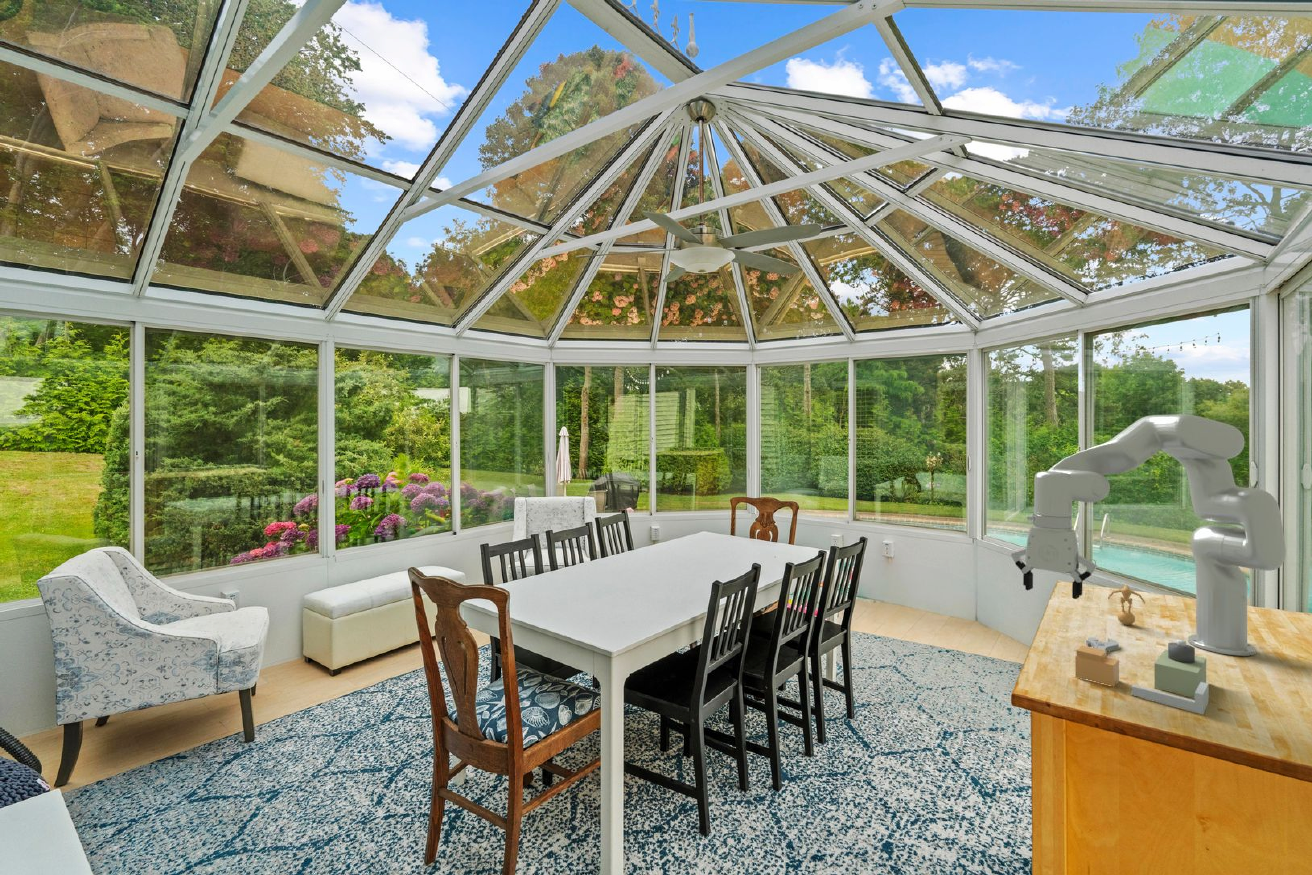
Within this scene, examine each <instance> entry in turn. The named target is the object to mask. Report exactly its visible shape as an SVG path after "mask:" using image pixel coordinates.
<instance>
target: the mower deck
mask: <svg viewBox="0 0 1312 875" xmlns="http://www.w3.org/2000/svg"><path fill="white" fill-rule="evenodd" d="M1175 640H1176V642H1168V643H1167V644H1168V645H1167V647H1168V648H1167V649H1164V650H1163V651H1162V653H1161V654H1160V656H1158V657H1157V659H1156V661H1155V662H1154V689H1151V688H1148V687H1144V686H1140V685H1136V684H1132V685H1131V696H1132V695H1134V696H1133V697H1135V696H1139V697H1141V698H1140V699H1143V698H1145V699H1144V700H1147V701H1150V700H1153V701H1152V702H1154V701H1156V702H1155V703H1158V702H1159V703H1158V704H1160V705H1161V704H1162V705H1166V706H1168V707H1173V708H1177V709H1181V710H1184V711H1189V712H1191V713H1195V714H1200V715H1202V716H1203V715H1204V714H1205V711H1206V709H1207V707H1208V705H1209V698H1210V696H1209V691H1210V689H1209V687H1210V685H1209V684H1210V683H1209V682H1207V658H1206V657H1203V656H1197V655H1196V649H1195V648H1196V647H1195V646H1192V645H1190V644H1187V641H1186V640H1184V639H1175ZM1155 689H1157V690H1155ZM1159 690H1161V691H1159ZM1168 691H1169V692H1168ZM1167 692H1168V693H1167ZM1172 692H1173V694H1171V693H1172ZM1177 694H1178V695H1180V696H1178V695H1177ZM1182 696H1185V697H1182ZM1139 697H1138V698H1139ZM1186 697H1189V698H1186ZM1191 698H1192V699H1191Z"/></svg>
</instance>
